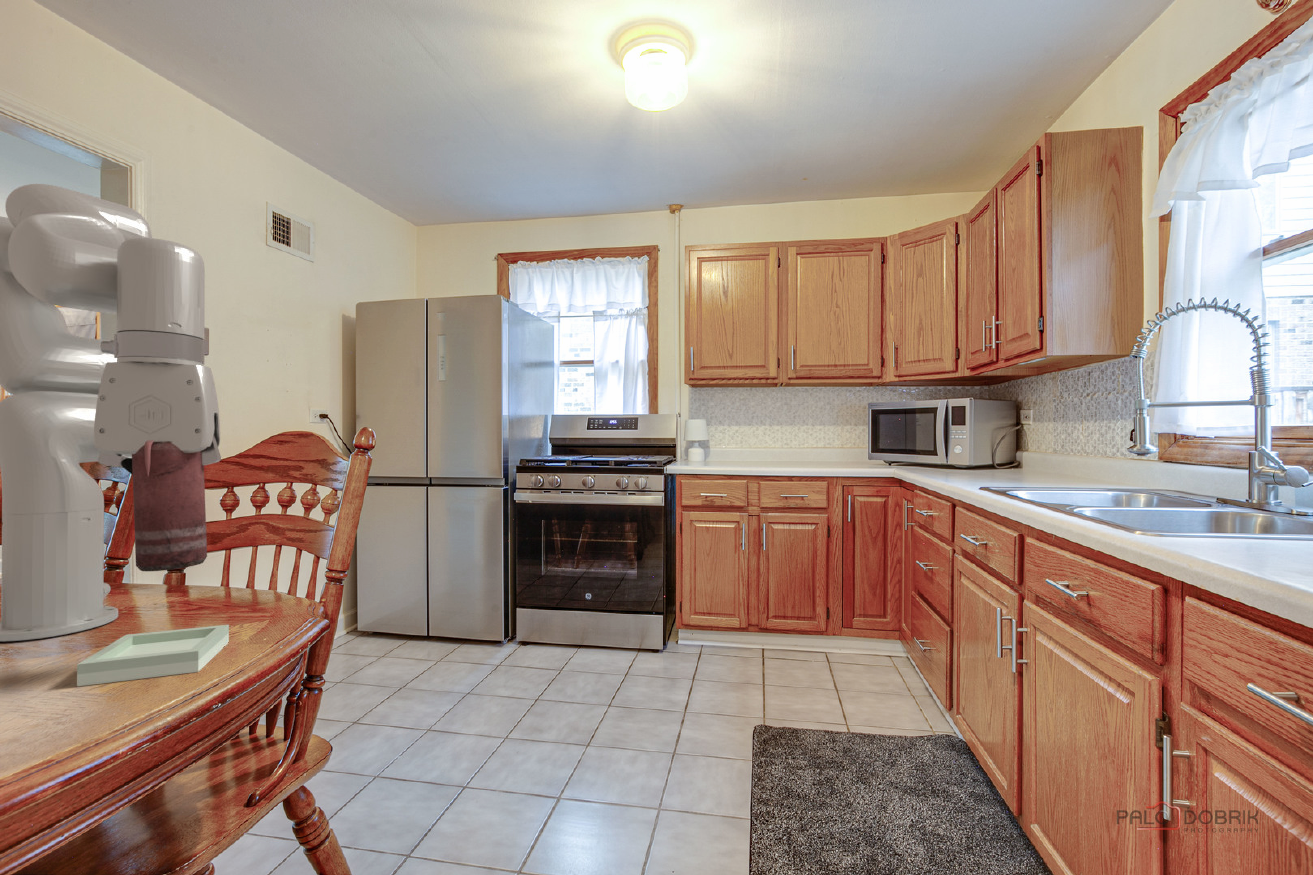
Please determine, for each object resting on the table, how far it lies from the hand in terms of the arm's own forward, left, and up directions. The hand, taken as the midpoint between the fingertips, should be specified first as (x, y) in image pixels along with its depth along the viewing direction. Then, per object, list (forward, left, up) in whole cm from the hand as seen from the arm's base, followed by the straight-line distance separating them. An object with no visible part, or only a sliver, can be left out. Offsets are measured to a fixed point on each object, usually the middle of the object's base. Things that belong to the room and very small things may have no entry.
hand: (161, 517), depth 65 cm
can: (0, +1, -6) cm, 6 cm away
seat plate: (0, 0, -16) cm, 16 cm away
